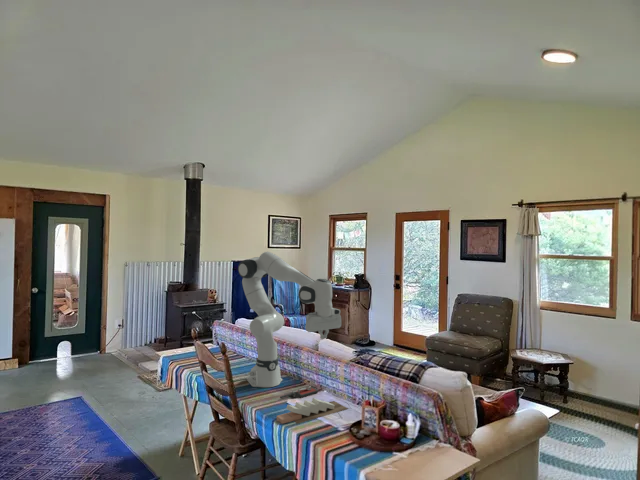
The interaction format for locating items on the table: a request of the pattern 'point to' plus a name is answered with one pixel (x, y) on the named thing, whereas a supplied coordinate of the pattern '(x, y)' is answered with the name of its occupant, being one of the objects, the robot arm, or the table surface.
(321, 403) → the domino
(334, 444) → the table surface
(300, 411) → the domino
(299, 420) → the board
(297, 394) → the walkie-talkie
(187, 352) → the table surface
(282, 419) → the domino
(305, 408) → the domino
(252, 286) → the robot arm
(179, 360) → the table surface
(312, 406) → the domino
